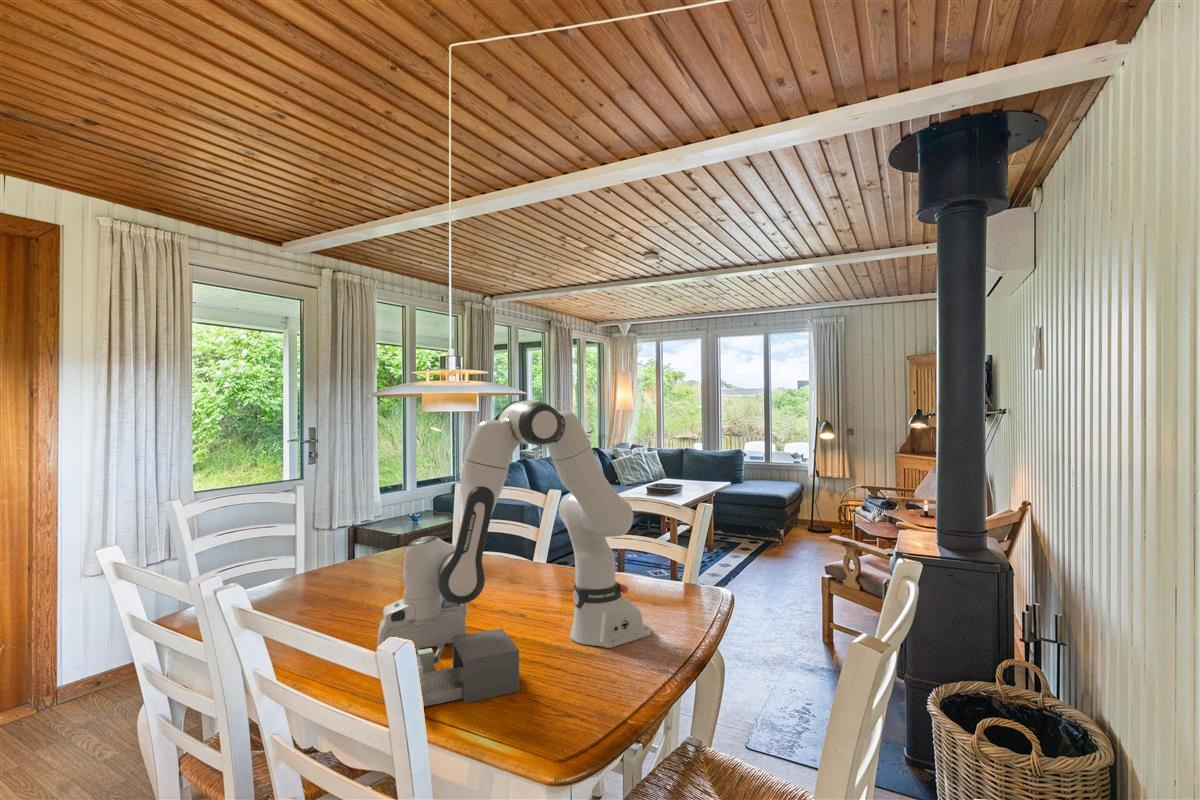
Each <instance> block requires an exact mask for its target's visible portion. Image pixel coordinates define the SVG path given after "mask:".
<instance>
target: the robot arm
mask: <svg viewBox="0 0 1200 800" xmlns="http://www.w3.org/2000/svg"><path fill="white" fill-rule="evenodd" d="M520 444H524V445H526V444H527V445H530V444H531V445H534V446H542V445H544V446H546V447H547V448H548V452H549V454H550V457H551V460H552V463H553V465H554V468H555V470H556V473H557V475H558V478H559V480H560V483H561V485H563V487H564V488H565V489H566V490H567V491H569V492H568V493H567V494H565V495H564V496H563V497H562V499H561V500H560V502H559V505H558V515H559V518H560V520H561V521H562V522H563V524H564V526H565V527H566V529H567V532H568V535H569V538H570V541H571V545H572V546H571V547H572V549H573V555H574V569H575V571H574V573H575V575H574V576H575V577H574V578H575V581H574V584H573V603H574V612H573V620H572V626H571V629H570V633H569V637H570V639H571V640H572V641H573V642H576V643H578V644H581V645H587V646H595V647H596V646H597V647H602V648H605V649H606V648H607V649H611V648H614V647H618V646H620V645H624V644H627V643H630V642H633V641H637V640H640V639H643V638H646V637H649V636H651V635H652V630H651V629H652V628H651V627H650V626H649V625H648V624H647V623H646V622H645V621H644V619H643V615H642V612H641V610H640V609H639V607H638V606H637V605H636V604H634V603H633V602H632V601H631V600H629V599H628V598H626V597H625V596H623V594H627V593H628V592H629V587H628V586H626V585H625V584H621V583H619V582H617V581H616V554H615V553H614V551H613V549H612V548H611V546H610V545H609V544H608V541H607V538H610V537H611V538H616V537H621V536H624V535H626V534H627V533H628V532H629V531H630V530H631V528H632V526H633V522H634V511H633V508H632V506H631V504H630V503H629V502H628V501H626V500H625V499H624V498H623V497H621V495H619V494H618V493H617V491H616V490H615V488H614V487H613V486H612V484H610V482H609V481H608V479H607V478H606V476H605V474H604V473H603V471H602V469H601V468H600V465H599V463H598V460H597V458H596V455H595V453H594V451H593V448H592V445H591V442H590V439H589V437H588V435H587V433H586V431H585V429H584V426H583V424H582V423H581V421H580V420H579V418H578V417H577V416H576V414H575V413H573V412H572V411H568V410H561V411H559V410H558V411H557V410H556V409H555V408H554V407H553V406H551V405H550V404H548V403H546V402H541V401H536V400H529V399H528V400H514V401H512V402H510V403H507V404H506V405H505V406H504V407H503V408H501V410H500V411H499V413H498V414H497V415H496V416H495V417H494V419H486V420H483V421H481V422H479V423H478V424H477V426H476V427H475V429H474V431H473V434H472V436H471V438H470V441H469V443H468V446H467V450H466V453H465V456H464V460H463V464H462V470H461V477H460V491H461V498H462V519H461V523H460V527H459V532H458V537H457V541H456V543H455V544H456V545H455V544H453V543H449V542H446V541H444V540H443V539H441V538H440V537H438V536H436V535H427V536H422V537H419V538H416V539H413V540H412V541H411V542H409V544H408V545H407V546H406V548H405V549H404V550H405V551H404V556H403V569H402V570H403V572H402V575H403V576H402V577H403V580H404V590H403V594H402V597H403V598H401V599H399V600H395V602H393V603H390V604H387V605H386V606H384V607H383V611H382V613H383V615H382V616H383V618H382V619H381V621H380V623H379V627H378V631H377V632H378V633H377V641H376V642H377V645H376V646H377V647H378V645H379V644H381V643H382V642H383V641H385V640H386V639H387V638H389V637H398V638H403V639H410V640H412V641H413V642H414V644H415V646H416V648H417V649H422V648H429V647H428V646H434V645H437V646H438V647H437V650H436V652H435V653H434V665H435V664H439V663H440V658H441V657H440V656H441V655H442V653H443V652H444V649H445V645H446V644H452V637H455V636H461V635H467V624H466V619H465V618H466V617H467V613H468V607H467V605H466V604H469V603H470V602H472V601H474V600H476V599H477V598H478V597H479V596H480V595H481V593H482V591H483V589H484V586H485V580H486V577H485V571H484V567H483V554H484V550H485V546H486V540H487V536H488V532H489V526H490V522H491V519H492V515H493V513H494V510H495V508H496V505H497V502H498V500H499V498H500V495H501V494H502V491H503V488H504V485H505V483H506V479H507V478H508V477H507V476H508V472H509V469H510V466H511V465H510V464H511V458H512V456H513V453H514V451H515V449H516V448H517V447H519V445H520ZM443 598H444V600H446V601H448V602H443ZM445 643H446V644H445Z"/></svg>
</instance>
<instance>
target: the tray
mask: <svg viewBox="0 0 1200 800" xmlns="http://www.w3.org/2000/svg"><path fill="white" fill-rule="evenodd" d="M415 648H416V646H415ZM417 650H418V648H416V654H417V661H418V668H419V675H420V683H421V690H422V696H423V701H424V706H425V707H429V706H428V705H430V706H434V705H439V704H443V703H446V702H453V701H456V700H461V699H462V700H463V665H462V666H457V667H452V666H451V667H448V668H442V669H437V670H434V671H431V672H426V673H423V666H422V663H421V660H420V657H419V654H418V651H417ZM425 707H424V708H425Z"/></svg>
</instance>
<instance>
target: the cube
mask: <svg viewBox="0 0 1200 800" xmlns="http://www.w3.org/2000/svg"><path fill="white" fill-rule="evenodd" d="M417 651H418V654H419V657H420V660H421V663H422V666H423V673H426V672H431V671H435V664H434V654H435V653H434V651H433V647H427V648H424V649H422V648H421V649H417Z"/></svg>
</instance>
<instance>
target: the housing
mask: <svg viewBox="0 0 1200 800" xmlns="http://www.w3.org/2000/svg"><path fill="white" fill-rule="evenodd" d="M451 644H452V646H451V647H452V659H451V660H452V666H451V668H452V667H457V666H462V665H463V698H462V701H463V704H468V703H469V704H470V703H472V702H477V701H481V700H486V699H490V698H495V697H500V696H504V695H508V694H513V693H518V692H520V650H519V647H518V646H517V645H516V643H514V641H513V640H512V639H511V637H510V636H509V635H508V634H507V632H506V631H505V630H504V628H497V629H491V630H486V631H479V632H475V633H468V634H467V635H461V636H455V637H452V642H451Z"/></svg>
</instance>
